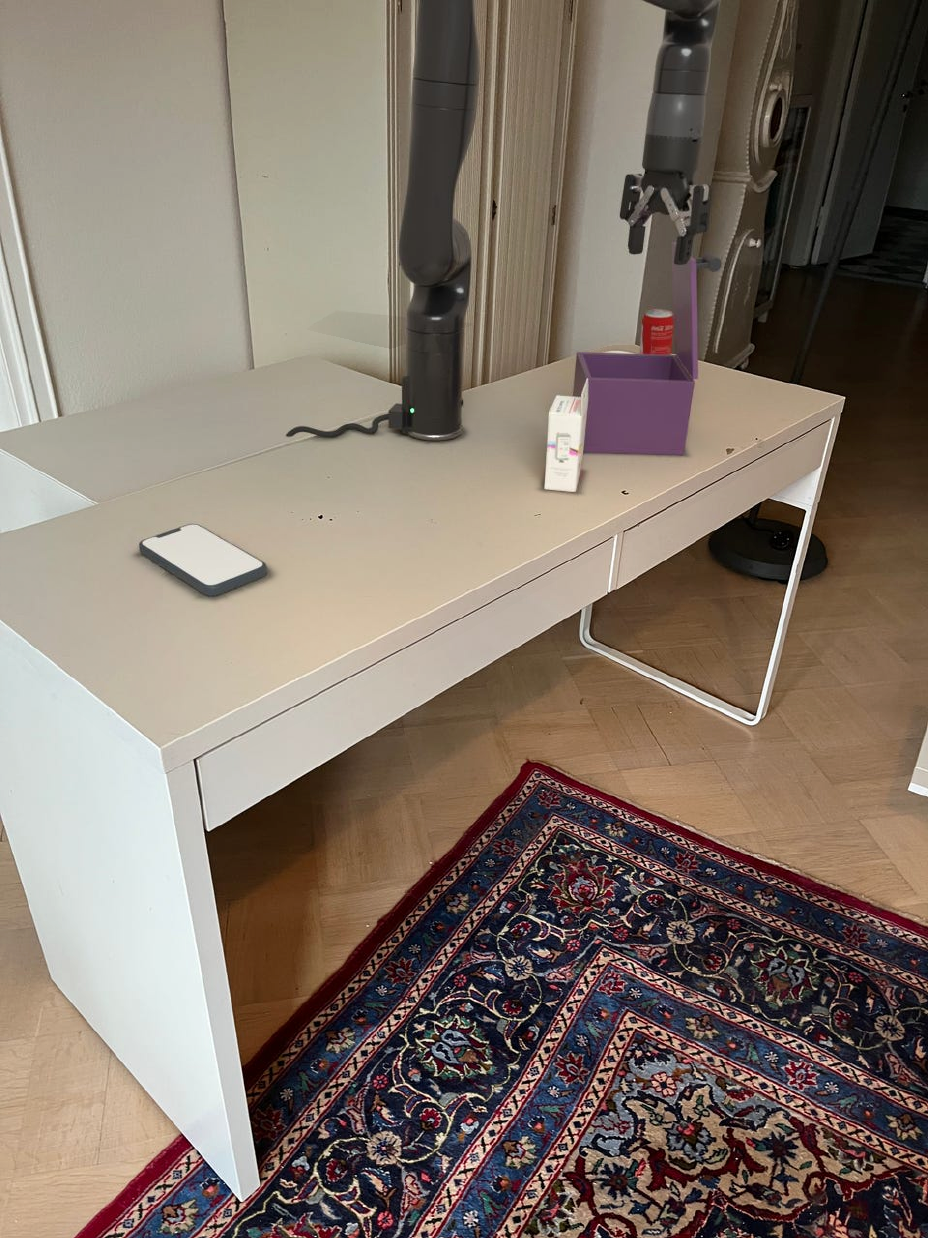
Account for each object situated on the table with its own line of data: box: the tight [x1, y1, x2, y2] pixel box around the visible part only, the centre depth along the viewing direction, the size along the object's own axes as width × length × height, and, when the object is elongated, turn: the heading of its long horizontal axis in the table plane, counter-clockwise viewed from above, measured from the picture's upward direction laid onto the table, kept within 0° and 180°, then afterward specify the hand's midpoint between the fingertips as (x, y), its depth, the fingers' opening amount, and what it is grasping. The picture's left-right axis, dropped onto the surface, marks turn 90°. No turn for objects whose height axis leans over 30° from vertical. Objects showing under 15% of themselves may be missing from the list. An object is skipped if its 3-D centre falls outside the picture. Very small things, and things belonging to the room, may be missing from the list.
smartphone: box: [138, 523, 268, 597], centre depth 117 cm, size 9×2×16 cm
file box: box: [572, 351, 696, 456], centre depth 157 cm, size 17×15×12 cm
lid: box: [671, 241, 723, 380], centre depth 149 cm, size 18×15×6 cm
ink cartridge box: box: [543, 378, 588, 493], centre depth 139 cm, size 9×5×15 cm, turn 168°
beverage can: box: [638, 308, 674, 355], centre depth 177 cm, size 6×6×15 cm
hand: (657, 258), depth 137 cm, fingers open, 8 cm apart
